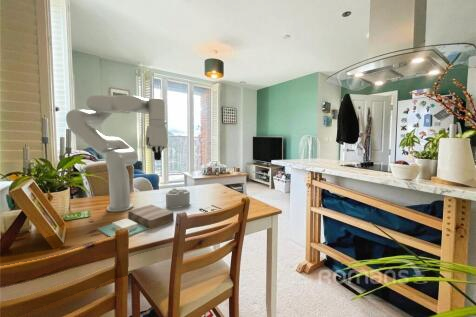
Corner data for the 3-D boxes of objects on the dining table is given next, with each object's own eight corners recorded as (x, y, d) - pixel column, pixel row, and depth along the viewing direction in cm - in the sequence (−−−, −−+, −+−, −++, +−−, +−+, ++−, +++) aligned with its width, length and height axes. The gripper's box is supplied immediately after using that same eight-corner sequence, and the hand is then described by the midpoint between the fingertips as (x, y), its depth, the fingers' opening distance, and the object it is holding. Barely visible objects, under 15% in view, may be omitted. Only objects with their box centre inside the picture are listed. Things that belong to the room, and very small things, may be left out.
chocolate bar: (221, 218, 104) (199, 208, 116) (221, 220, 104) (199, 210, 116) (234, 213, 111) (212, 205, 123) (234, 215, 111) (212, 206, 123)
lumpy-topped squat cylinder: (191, 203, 126) (191, 189, 125) (171, 209, 117) (171, 193, 116) (181, 199, 133) (181, 186, 132) (162, 204, 124) (162, 189, 123)
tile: (126, 218, 97) (126, 222, 97) (112, 222, 92) (112, 227, 92) (137, 223, 91) (137, 227, 92) (123, 228, 87) (123, 232, 87)
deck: (128, 219, 102) (128, 210, 102) (151, 211, 112) (151, 204, 111) (150, 229, 92) (150, 220, 91) (173, 220, 101) (173, 212, 101)
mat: (97, 229, 91) (97, 228, 91) (128, 219, 101) (128, 218, 101) (116, 241, 81) (115, 239, 81) (147, 229, 92) (147, 227, 92)
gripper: (165, 124, 116) (165, 158, 118) (138, 122, 104) (139, 160, 106) (174, 124, 112) (174, 159, 114) (147, 122, 100) (148, 162, 102)
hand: (157, 159), depth 110 cm, fingers closed
